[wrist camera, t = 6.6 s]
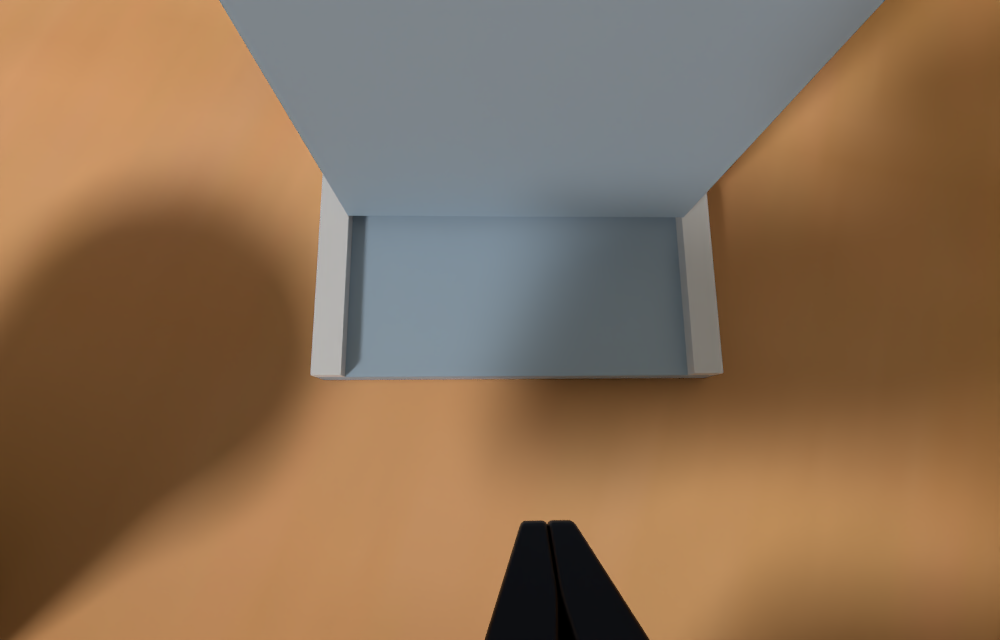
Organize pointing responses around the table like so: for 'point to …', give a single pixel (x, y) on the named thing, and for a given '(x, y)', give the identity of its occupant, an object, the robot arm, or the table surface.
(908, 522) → the table surface
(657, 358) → the light blue base plate
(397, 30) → the jaw
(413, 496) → the table surface
